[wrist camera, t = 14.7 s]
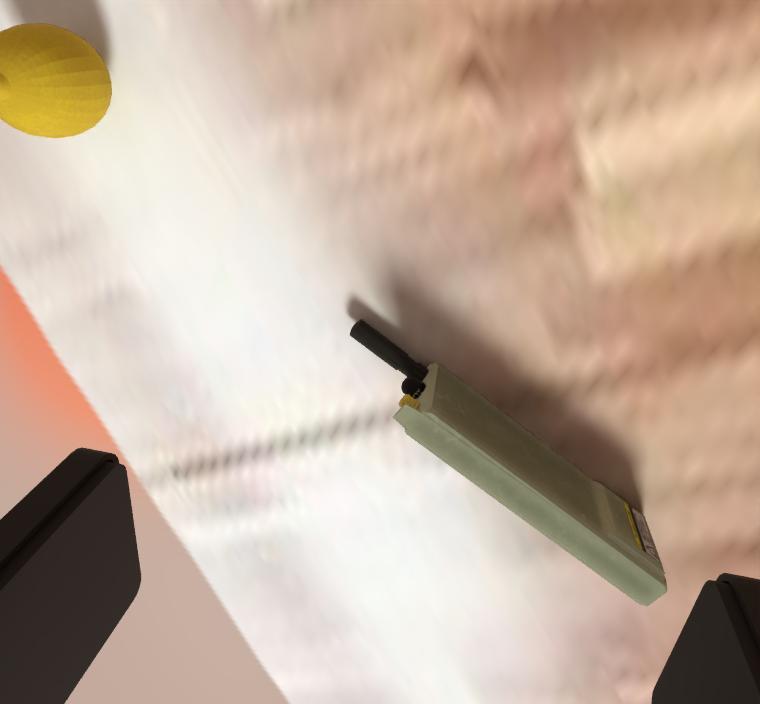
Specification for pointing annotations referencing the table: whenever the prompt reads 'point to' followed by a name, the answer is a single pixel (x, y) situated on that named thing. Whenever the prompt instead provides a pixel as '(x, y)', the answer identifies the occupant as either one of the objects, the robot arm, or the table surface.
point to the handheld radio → (523, 472)
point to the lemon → (51, 81)
